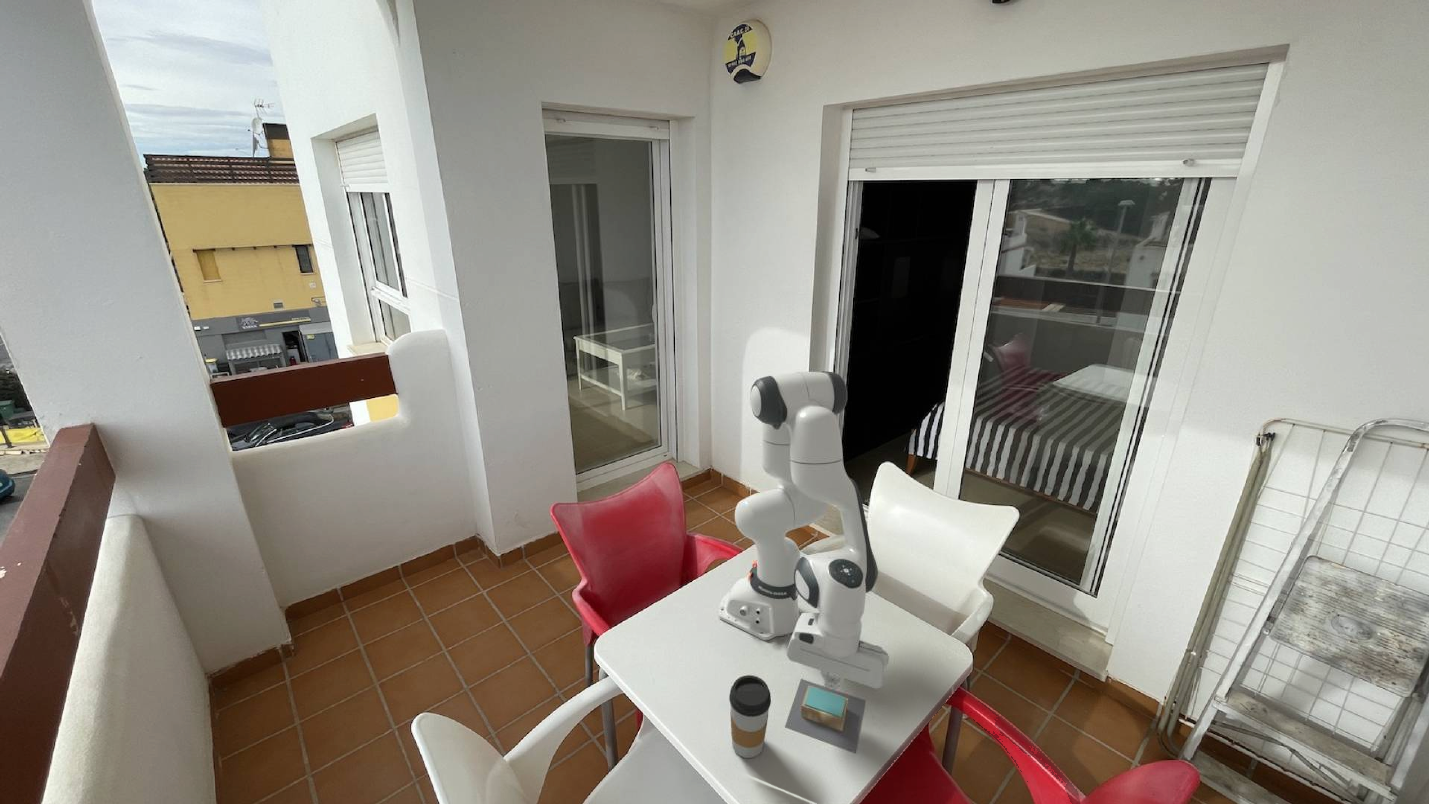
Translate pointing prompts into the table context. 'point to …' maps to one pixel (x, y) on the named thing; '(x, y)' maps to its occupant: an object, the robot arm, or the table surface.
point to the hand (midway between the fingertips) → (831, 686)
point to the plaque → (824, 707)
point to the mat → (823, 732)
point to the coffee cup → (749, 715)
